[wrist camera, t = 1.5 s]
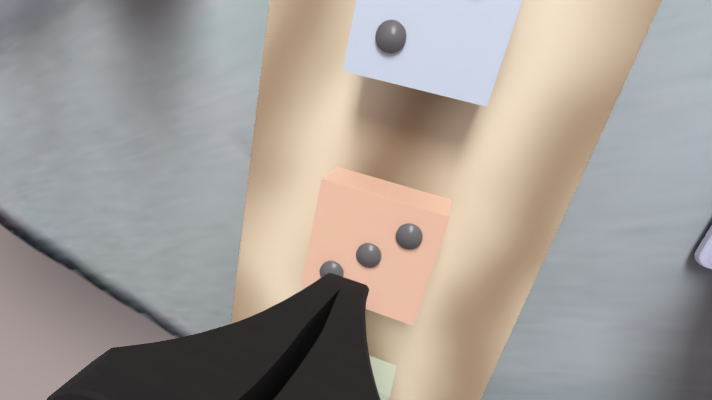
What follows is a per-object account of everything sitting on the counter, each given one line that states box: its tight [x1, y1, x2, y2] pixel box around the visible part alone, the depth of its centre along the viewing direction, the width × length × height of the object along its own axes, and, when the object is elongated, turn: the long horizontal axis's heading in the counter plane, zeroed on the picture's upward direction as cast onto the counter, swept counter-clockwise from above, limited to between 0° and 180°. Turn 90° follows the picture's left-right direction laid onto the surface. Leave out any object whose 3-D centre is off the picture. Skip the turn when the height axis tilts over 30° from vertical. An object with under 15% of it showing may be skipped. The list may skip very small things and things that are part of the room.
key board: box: [231, 0, 662, 400], centre depth 19 cm, size 14×28×2 cm, turn 167°
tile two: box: [343, 0, 523, 107], centre depth 13 cm, size 5×5×2 cm
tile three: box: [301, 167, 452, 326], centre depth 16 cm, size 5×5×2 cm
